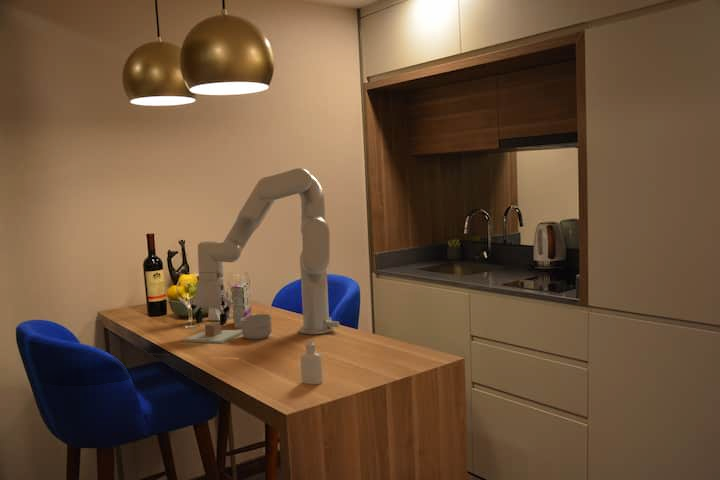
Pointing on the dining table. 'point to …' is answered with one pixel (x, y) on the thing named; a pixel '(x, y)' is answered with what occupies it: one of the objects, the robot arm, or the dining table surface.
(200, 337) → the lid
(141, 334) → the dining table surface
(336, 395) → the dining table surface
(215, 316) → the skyscraper
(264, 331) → the teacup
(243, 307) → the candy bar box
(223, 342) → the mat
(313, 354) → the eye dropper bottle
